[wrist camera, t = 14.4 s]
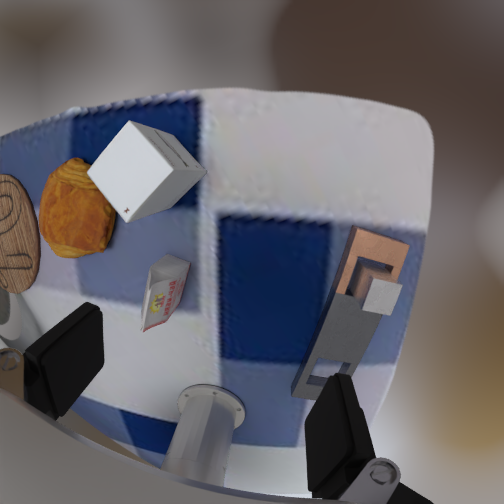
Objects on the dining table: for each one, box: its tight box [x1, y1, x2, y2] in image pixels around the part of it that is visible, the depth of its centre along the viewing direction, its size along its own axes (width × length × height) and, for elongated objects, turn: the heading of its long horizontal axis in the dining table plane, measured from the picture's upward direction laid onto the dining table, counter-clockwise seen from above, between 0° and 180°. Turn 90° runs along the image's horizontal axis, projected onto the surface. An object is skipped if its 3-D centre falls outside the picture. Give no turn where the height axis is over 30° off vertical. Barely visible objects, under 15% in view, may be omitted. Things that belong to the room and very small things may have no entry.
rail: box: [291, 225, 409, 400], centre depth 39 cm, size 28×8×2 cm, turn 166°
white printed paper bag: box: [140, 254, 191, 332], centre depth 35 cm, size 4×7×10 cm, turn 160°
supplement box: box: [87, 121, 207, 223], centre depth 30 cm, size 7×7×13 cm
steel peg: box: [348, 258, 403, 316], centre depth 34 cm, size 4×4×8 cm
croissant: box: [39, 158, 116, 258], centre depth 36 cm, size 14×16×8 cm
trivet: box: [0, 174, 41, 294], centre depth 41 cm, size 25×25×2 cm
